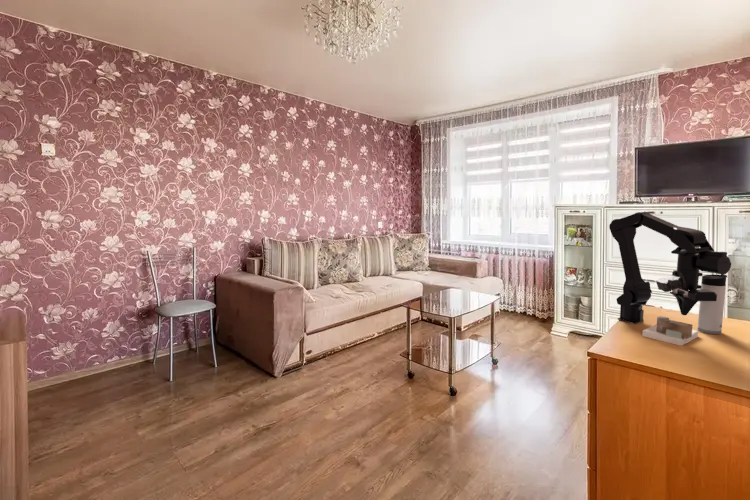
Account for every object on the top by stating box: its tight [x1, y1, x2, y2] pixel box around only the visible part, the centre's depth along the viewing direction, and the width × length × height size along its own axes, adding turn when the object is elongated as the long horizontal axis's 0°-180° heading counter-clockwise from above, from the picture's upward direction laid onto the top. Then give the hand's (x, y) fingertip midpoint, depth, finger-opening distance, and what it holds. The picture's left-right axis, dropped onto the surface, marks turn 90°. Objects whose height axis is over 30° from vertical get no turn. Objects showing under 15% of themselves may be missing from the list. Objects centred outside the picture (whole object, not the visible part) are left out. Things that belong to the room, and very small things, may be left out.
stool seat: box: [641, 323, 699, 346], centre depth 129 cm, size 11×14×4 cm
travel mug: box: [697, 274, 728, 335], centre depth 131 cm, size 6×7×20 cm
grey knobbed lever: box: [656, 315, 693, 339], centre depth 125 cm, size 9×3×5 cm, turn 31°
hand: (683, 314), depth 127 cm, fingers closed
